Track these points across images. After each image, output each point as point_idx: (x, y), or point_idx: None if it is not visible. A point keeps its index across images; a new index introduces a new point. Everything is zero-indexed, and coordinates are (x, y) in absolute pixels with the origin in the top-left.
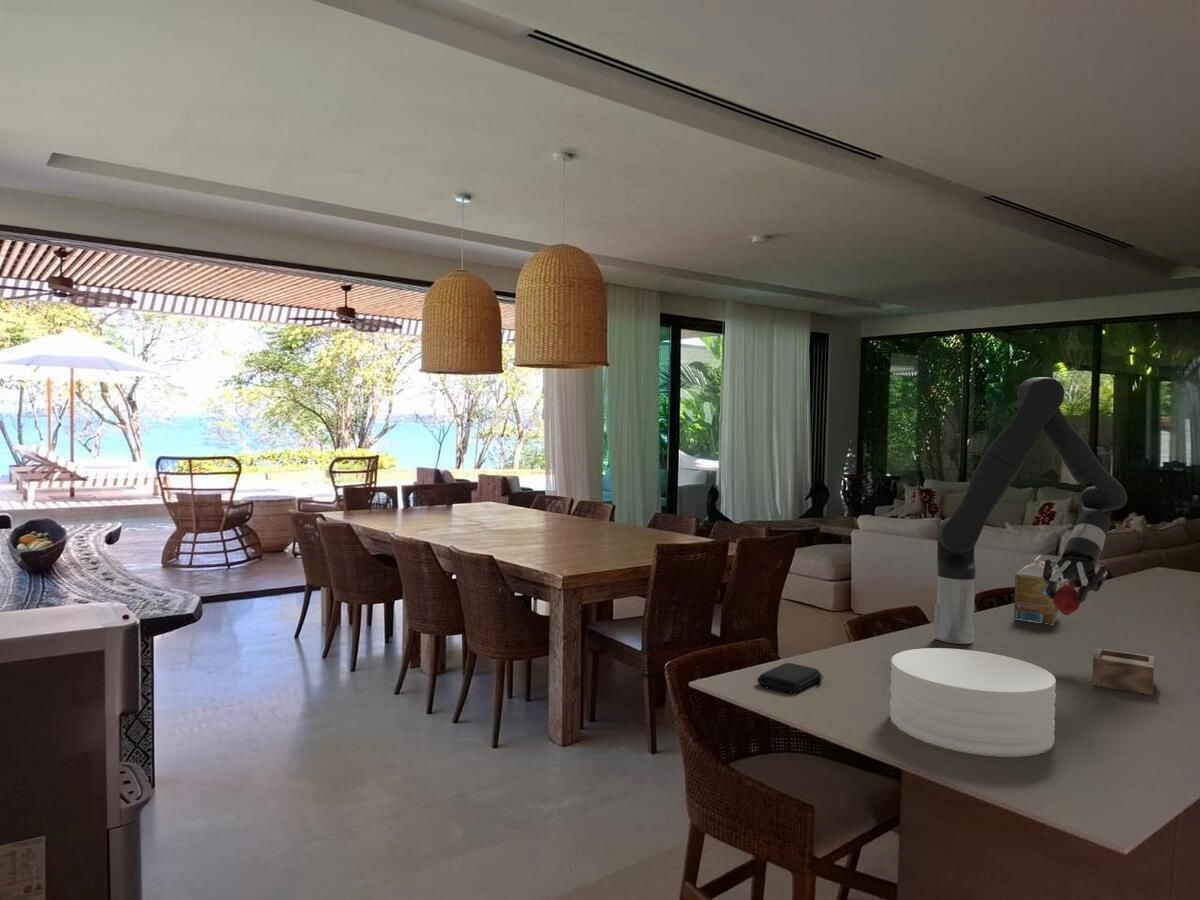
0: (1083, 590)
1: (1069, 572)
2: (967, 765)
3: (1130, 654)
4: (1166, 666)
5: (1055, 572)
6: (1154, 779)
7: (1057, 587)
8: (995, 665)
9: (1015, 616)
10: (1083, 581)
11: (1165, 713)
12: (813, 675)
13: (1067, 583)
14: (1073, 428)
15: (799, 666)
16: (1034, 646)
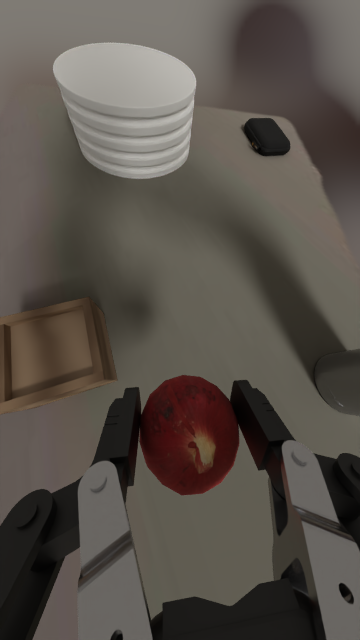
0: (110, 441)
1: (260, 627)
2: None
3: (41, 390)
4: None
5: (346, 533)
6: (12, 138)
7: None
8: (115, 83)
9: None
10: (105, 506)
11: (11, 271)
12: (258, 138)
13: (198, 445)
14: None
15: (276, 139)
16: (265, 483)
